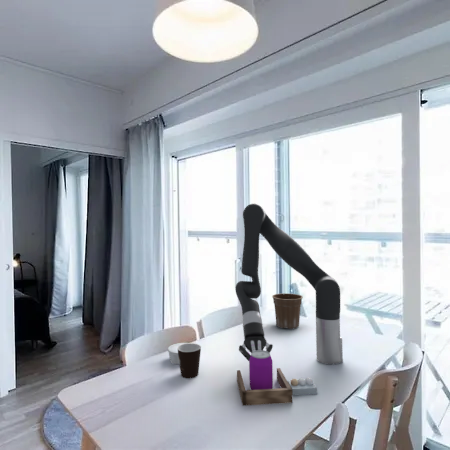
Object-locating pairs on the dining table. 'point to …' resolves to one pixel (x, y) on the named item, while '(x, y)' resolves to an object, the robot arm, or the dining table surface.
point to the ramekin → (174, 353)
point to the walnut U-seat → (265, 392)
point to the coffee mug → (189, 359)
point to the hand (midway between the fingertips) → (258, 372)
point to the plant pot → (287, 310)
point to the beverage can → (260, 370)
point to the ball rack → (302, 386)
